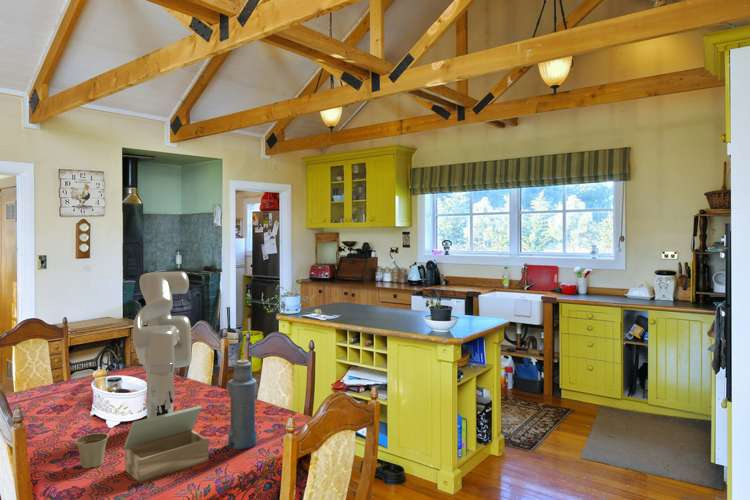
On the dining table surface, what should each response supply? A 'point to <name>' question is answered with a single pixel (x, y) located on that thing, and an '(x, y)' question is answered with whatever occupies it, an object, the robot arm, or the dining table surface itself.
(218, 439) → the dining table surface
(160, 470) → the box
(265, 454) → the dining table surface
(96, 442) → the flower pot
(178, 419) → the lid
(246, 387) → the bottle
